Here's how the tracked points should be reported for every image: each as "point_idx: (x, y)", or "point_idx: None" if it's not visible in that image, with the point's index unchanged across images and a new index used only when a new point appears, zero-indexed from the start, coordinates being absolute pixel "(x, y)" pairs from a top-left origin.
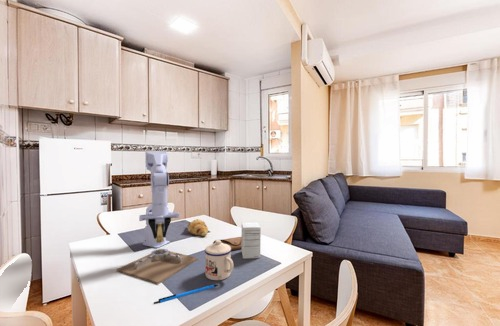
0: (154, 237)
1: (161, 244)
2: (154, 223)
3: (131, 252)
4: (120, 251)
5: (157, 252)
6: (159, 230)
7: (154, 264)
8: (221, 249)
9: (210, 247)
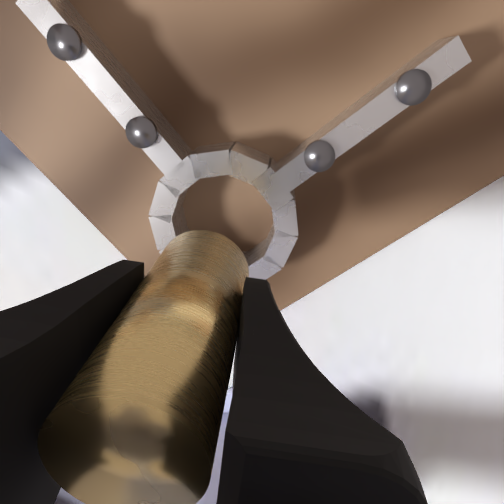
0: (261, 282)
1: None
2: (243, 423)
3: (401, 394)
4: (460, 436)
5: None
6: (168, 317)
7: (283, 75)
8: None
9: None
